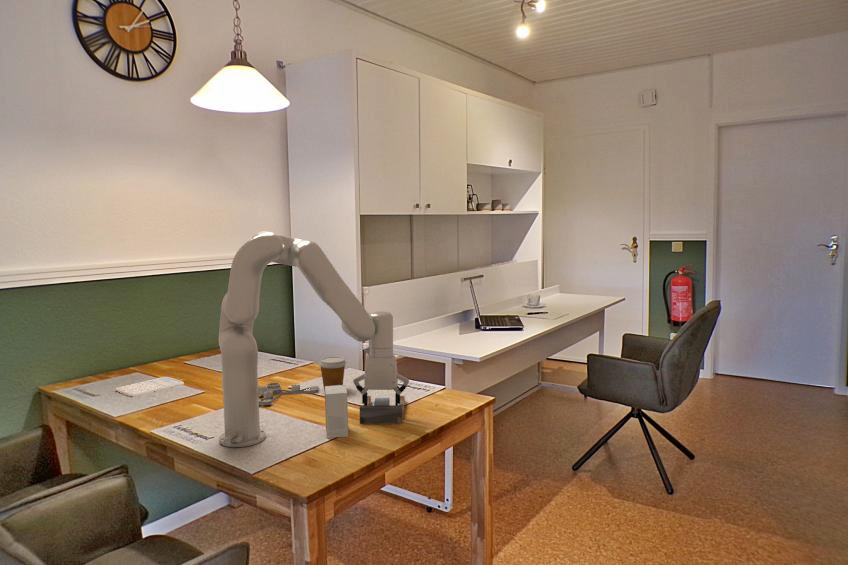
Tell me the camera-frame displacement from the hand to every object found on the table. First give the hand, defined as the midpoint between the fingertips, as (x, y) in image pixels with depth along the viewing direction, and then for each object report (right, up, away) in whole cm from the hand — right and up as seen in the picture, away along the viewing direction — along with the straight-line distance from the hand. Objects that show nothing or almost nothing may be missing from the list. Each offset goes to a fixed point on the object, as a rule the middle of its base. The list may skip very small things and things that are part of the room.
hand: (381, 405), depth 182 cm
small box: (-12, -6, -11) cm, 17 cm away
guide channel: (0, -3, +7) cm, 7 cm away
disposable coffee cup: (-19, -1, +28) cm, 34 cm away
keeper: (0, -4, +1) cm, 4 cm away
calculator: (-88, -1, +35) cm, 95 cm away
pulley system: (-37, -2, +25) cm, 45 cm away
